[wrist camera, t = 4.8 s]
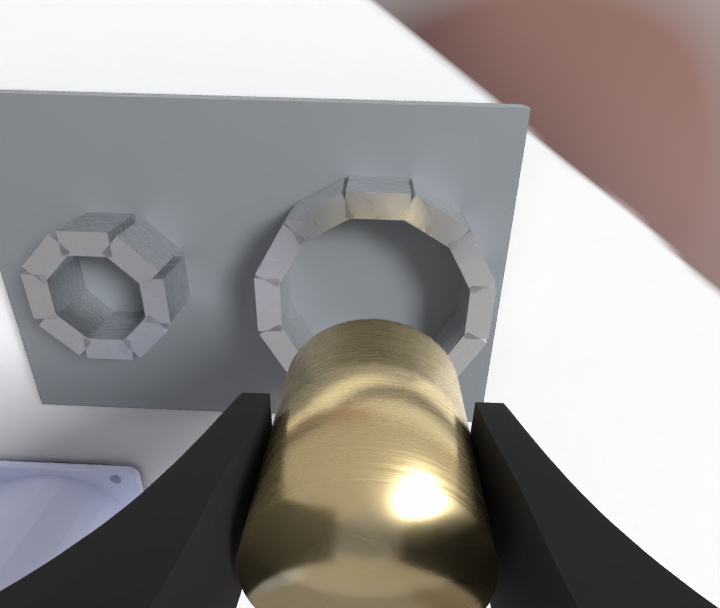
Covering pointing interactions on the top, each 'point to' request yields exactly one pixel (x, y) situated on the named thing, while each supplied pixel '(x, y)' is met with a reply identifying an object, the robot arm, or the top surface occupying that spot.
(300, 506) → the brass peg
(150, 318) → the narrow collar
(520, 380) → the top surface
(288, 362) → the wide collar
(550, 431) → the top surface
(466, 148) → the board
